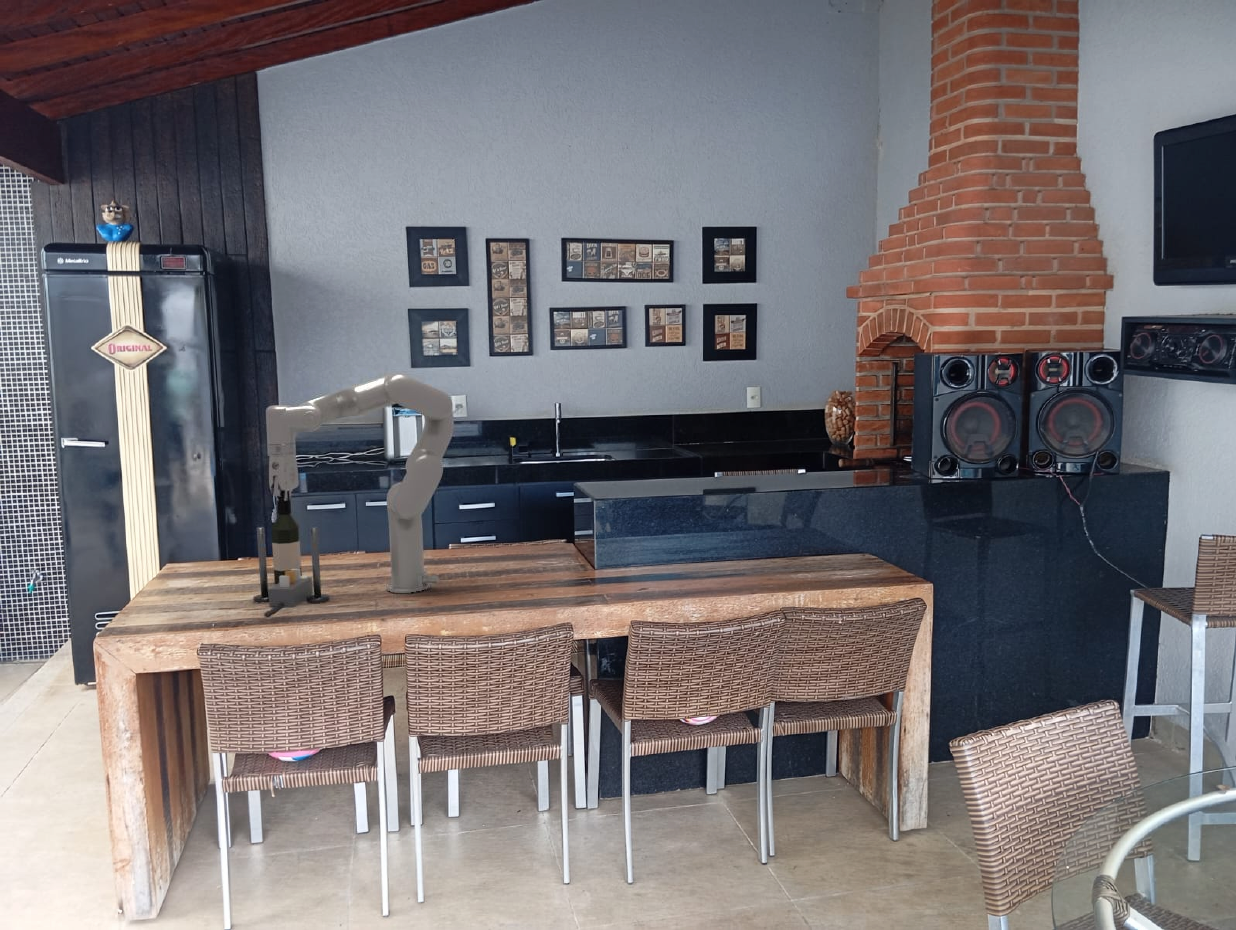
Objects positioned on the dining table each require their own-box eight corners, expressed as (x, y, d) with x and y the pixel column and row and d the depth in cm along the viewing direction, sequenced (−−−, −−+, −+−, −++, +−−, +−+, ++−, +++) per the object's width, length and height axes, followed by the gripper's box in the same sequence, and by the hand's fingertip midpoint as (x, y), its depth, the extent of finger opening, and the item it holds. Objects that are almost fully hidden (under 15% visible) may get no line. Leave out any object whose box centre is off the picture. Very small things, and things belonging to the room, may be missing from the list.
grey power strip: (312, 593, 314) (311, 566, 313) (279, 616, 290) (277, 587, 289) (289, 593, 314) (288, 566, 313) (254, 616, 291) (252, 587, 290)
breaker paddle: (295, 581, 307) (294, 571, 306) (293, 582, 306) (293, 572, 305) (287, 581, 307) (286, 571, 307) (285, 582, 306) (284, 572, 305)
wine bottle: (294, 584, 325) (288, 486, 321) (268, 584, 326) (262, 486, 322) (307, 578, 333) (301, 482, 329) (282, 577, 335) (276, 481, 330)
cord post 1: (280, 597, 311) (276, 525, 308) (271, 603, 304) (266, 530, 301) (259, 597, 311) (254, 525, 308) (249, 602, 305) (244, 530, 302)
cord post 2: (332, 597, 309) (328, 525, 306) (324, 603, 303) (320, 530, 300) (311, 597, 310) (307, 525, 307) (302, 603, 303) (298, 530, 301)
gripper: (283, 453, 293) (286, 519, 296) (304, 446, 308) (307, 510, 310) (257, 452, 294) (260, 519, 296) (279, 446, 309) (282, 509, 311)
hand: (284, 514), depth 303 cm, fingers closed
